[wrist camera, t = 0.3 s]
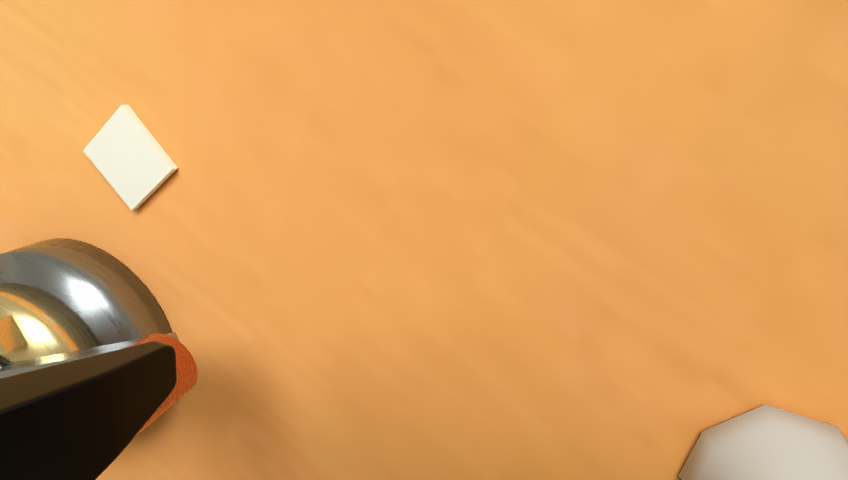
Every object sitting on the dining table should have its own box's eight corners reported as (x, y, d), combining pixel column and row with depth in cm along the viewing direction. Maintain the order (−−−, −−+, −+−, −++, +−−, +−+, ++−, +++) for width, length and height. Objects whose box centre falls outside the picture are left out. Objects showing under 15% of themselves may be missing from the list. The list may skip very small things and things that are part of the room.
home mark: (177, 167, 24) (172, 169, 24) (137, 208, 26) (131, 210, 25) (128, 104, 24) (121, 105, 23) (89, 149, 25) (82, 150, 25)
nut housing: (200, 423, 30) (165, 458, 27) (53, 411, 33) (8, 440, 31) (141, 233, 26) (93, 251, 23) (-18, 242, 30) (-76, 258, 27)
